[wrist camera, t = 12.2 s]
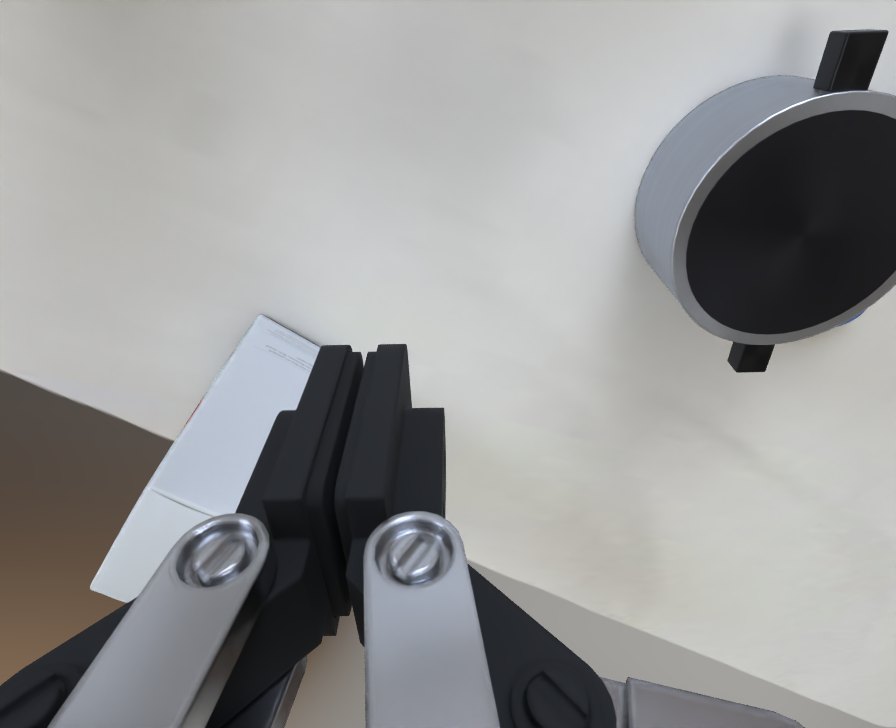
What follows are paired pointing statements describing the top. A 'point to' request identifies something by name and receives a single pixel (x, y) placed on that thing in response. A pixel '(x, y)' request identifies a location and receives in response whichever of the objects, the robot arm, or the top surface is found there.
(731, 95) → the pot
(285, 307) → the top surface
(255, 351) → the white product box
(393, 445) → the robot arm
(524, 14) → the top surface
